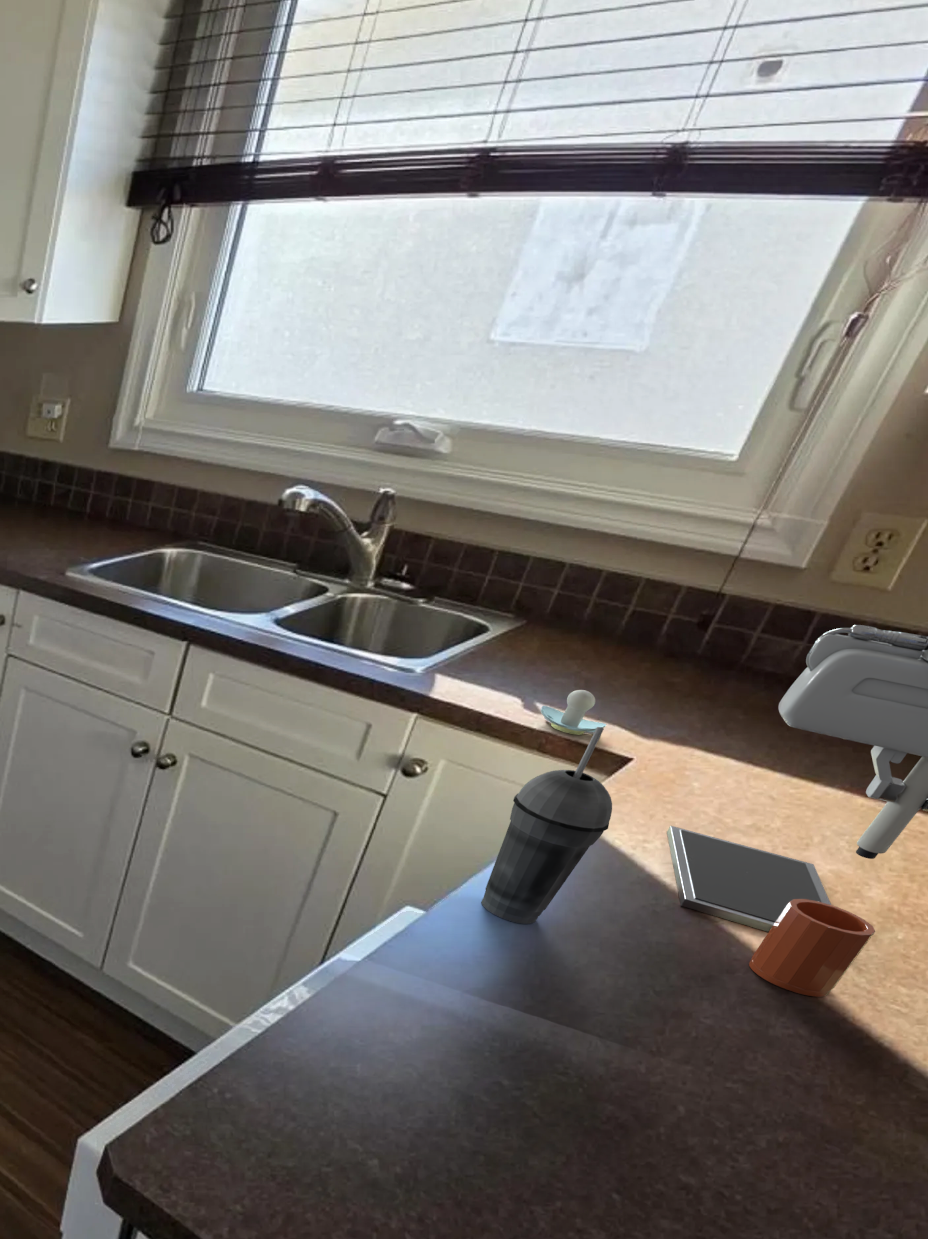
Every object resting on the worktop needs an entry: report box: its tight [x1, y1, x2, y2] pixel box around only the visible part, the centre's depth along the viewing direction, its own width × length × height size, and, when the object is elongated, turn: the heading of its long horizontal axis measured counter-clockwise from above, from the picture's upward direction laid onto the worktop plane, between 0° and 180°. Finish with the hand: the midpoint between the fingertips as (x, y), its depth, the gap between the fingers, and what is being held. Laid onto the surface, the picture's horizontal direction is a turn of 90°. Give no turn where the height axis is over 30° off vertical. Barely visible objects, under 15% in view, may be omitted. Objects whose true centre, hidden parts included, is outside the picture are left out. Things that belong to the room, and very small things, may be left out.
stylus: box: [855, 756, 928, 860], centre depth 85 cm, size 2×2×14 cm
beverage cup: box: [481, 727, 613, 925], centre depth 97 cm, size 7×7×20 cm
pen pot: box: [748, 899, 876, 998], centre depth 92 cm, size 5×5×7 cm
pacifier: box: [540, 689, 607, 736], centre depth 143 cm, size 7×6×6 cm
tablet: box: [666, 825, 832, 933], centre depth 108 cm, size 12×20×1 cm, turn 141°
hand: (905, 804), depth 86 cm, fingers closed on stylus, 2 cm apart
